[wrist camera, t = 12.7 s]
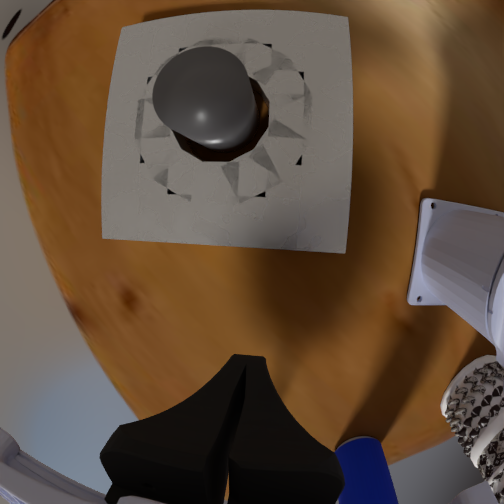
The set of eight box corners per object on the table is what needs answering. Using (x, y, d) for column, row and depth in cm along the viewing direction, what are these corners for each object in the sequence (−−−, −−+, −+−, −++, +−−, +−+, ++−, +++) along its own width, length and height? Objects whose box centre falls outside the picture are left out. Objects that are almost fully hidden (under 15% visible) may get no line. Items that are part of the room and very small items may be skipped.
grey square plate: (341, 33, 16) (348, 17, 14) (337, 245, 19) (345, 253, 17) (135, 40, 17) (122, 27, 15) (119, 232, 21) (102, 238, 18)
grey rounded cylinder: (262, 91, 18) (253, 46, 11) (255, 155, 19) (243, 136, 12) (197, 89, 18) (160, 49, 11) (189, 150, 19) (146, 134, 12)
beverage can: (329, 441, 23) (343, 571, 9) (379, 427, 23) (415, 551, 8) (335, 466, 24) (347, 578, 10) (379, 454, 24) (407, 562, 9)
